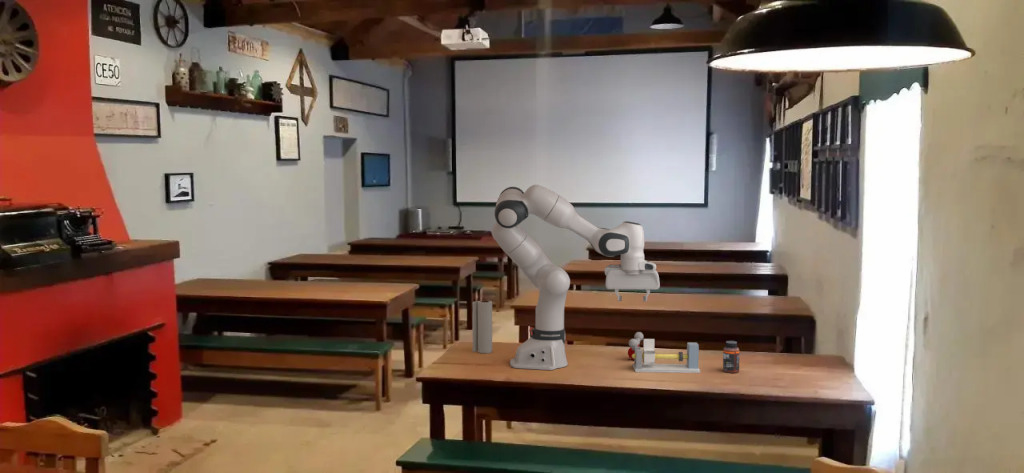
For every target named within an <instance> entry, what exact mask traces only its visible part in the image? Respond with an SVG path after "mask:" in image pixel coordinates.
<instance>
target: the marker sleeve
mask: <svg viewBox="0 0 1024 473" xmlns="http://www.w3.org/2000/svg"><path fill="white" fill-rule="evenodd" d="M642 354H644V359H642V364H644V365H655V364H656V359H655V354H656V350H655V338H643V348H642Z"/></svg>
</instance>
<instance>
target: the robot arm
mask: <svg viewBox="0 0 1024 473" xmlns="http://www.w3.org/2000/svg"><path fill="white" fill-rule="evenodd" d="M529 215H534V216H535V217H538V218H539V219H541V220H542V221H544V222H545V223H547V224H549V225H552V226H553V227H557V228H560V229H566V230H569V231H571V232H573V233H575V234H577V235H578V236H579V237H581V238H583V239H584V240H586V241H588V243H589V244H590V246H591V248H593V250H594V251H595V252H597V253H598V254H600V255H602V256H605V257H610V258H611V257H612V258H613V257H616V256H620V264H608V265H606V266H605V268H604V275H605V276H606V277H605V289H606V290H614V294H615V295H616V297H617V301H618V302H622V300H623V299H622V298H623V296H622V295H620V293H619V290H645V291H646V294H645V295H643V296H642V302H648V297H649V295H650V293H651V290H653V291H654V290H655V291H656V290H659V289H660V287H661V286H660V277H659V273H658V271H657V270H656V269H657V264H656V263H654V262H652V261H649V260H645V253H644V248H645V231H644V227H643V225H642V224H641V223H639V222H633V221H628V220H627V221H626V220H625V221H623V222H622V223H620V224H619V225H617V226H616V227H614V228H611V229H609V228H606V227H598V226H596V225H594V224H593V223H591V222H589V221H588V220H587V219H585V218H583V217H582V216H580V215H579V214H578V213H577V211H576V210H575V207H574V206H573V204H572V203H570V202H569V201H568V200H567V199H566V198H565V197H563V196H562V195H560V194H558V193H556V192H555V191H553V190H551V189H550V188H547V187H544V186H542V185H540V184H532V185H531V186H529V187H527V189H526V190H525V191H523V190H522V189H521V188H520V187H517V186H508V187H506V188H504V189H503V190H502V191H501V192H500V194H499V197H498V198H497V201H496V203H495V208H494V219H495V220H496V222H495V223H494V225H493V226H492V228H491V235H492V237H493V239H494V240H495V241H496V243H497V244H498V245H499V247H500V248H501V249H502V251H503V252H504V253H505V254H506V255H507V256H508V257H509V258H510V259H511V260H512V261H513V262H514V263H515V264H516V265H517V267H518V268H519V269H520V270H521V271H522V272H523V273H524V275H525V276H526V277H527V278H528V280H529V281H530V282H531V283H532V284H533V285H534V287H535V288H536V289H538V290H539V292H538V299H537V303H536V304H537V305H536V306H535V327H533V326H532V327H529V330H528V332H529V338H528V339H526V341H524V342H523V343H521V344H520V345H519V346H518V347H517V349H516V352H515V357H513V358H511V359H510V360H509V366H510V367H512V368H514V369H526V370H527V369H528V370H541V371H543V370H545V371H552V370H556V369H561V368H564V367H567V366H568V365H569V364H568V359H567V355H566V347H565V343H566V329H565V307H566V300H567V294H568V290H569V289H570V286H571V285H570V284H571V279H570V276H569V274H568V272H566V271H565V269H563V268H562V267H559V266H557V265H555V264H554V263H553V262H552V261H551V260H550V259H549V258H548V256H547V255H546V254H545V252H544V251H543V250H542V248H541V247H540V245H538V243H536V242H537V241H535V240H534V239H533V238H532V237H531V235H529V234H528V233H527V231H525V230H524V229H523V227H522V226H521V223H522V222H523V221H524V220H526V219H527V218H528V217H529Z"/></svg>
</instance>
